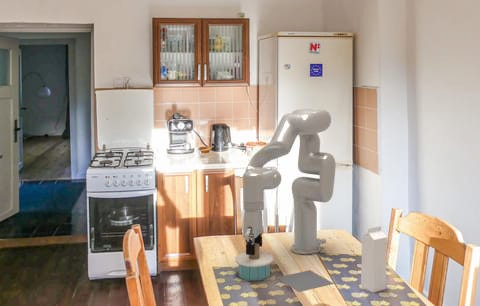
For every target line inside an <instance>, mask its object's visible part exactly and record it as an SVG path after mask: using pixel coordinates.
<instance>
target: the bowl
mask: <svg viewBox="0 0 480 306" xmlns="http://www.w3.org/2000/svg"><path fill="white" fill-rule="evenodd" d="M237 265H238V277H239V278H240V279H242V280H245V281H249V282H250V281H255V282H256V281H258V282H259V281H263V280H266V279H268V278H270V276H271V264H269V265H266V266H260V267H247V266H242V265H239V264H238V263H237Z"/></svg>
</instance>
